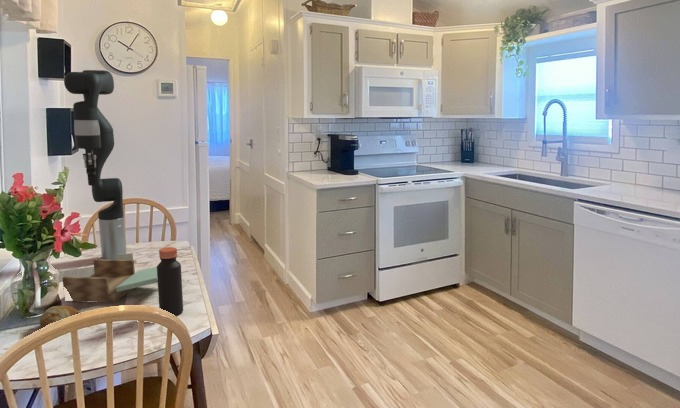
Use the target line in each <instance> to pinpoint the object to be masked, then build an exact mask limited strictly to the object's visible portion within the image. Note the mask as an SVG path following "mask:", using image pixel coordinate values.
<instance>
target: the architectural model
mask: <svg viewBox="0 0 680 408" xmlns="http://www.w3.org/2000/svg"><path fill="white" fill-rule="evenodd" d="M133 255H134V254H133V253H132V252H130V253H127V252H126V253H125V254H119V255H117V260H134V264H137V263H138V261H137V259H134V256H133Z"/></svg>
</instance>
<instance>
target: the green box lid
mask: <svg viewBox="0 0 680 408" xmlns="http://www.w3.org/2000/svg"><path fill="white" fill-rule="evenodd" d="M156 283H157V284H158V279H157V266H154V267H150V268H145V269H142V270H138V271H136V272H135V274H133V275H132V276H131V277H129V278H128V279H127V280H125V281H124V282H122V283H121V284H120V285H118V286H117V287H116V291H117V292H119V291H123V290H127V289H131V290H133V289H135V288H139V287H144V286H148V285H153V284H156ZM132 288H133V289H132Z"/></svg>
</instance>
